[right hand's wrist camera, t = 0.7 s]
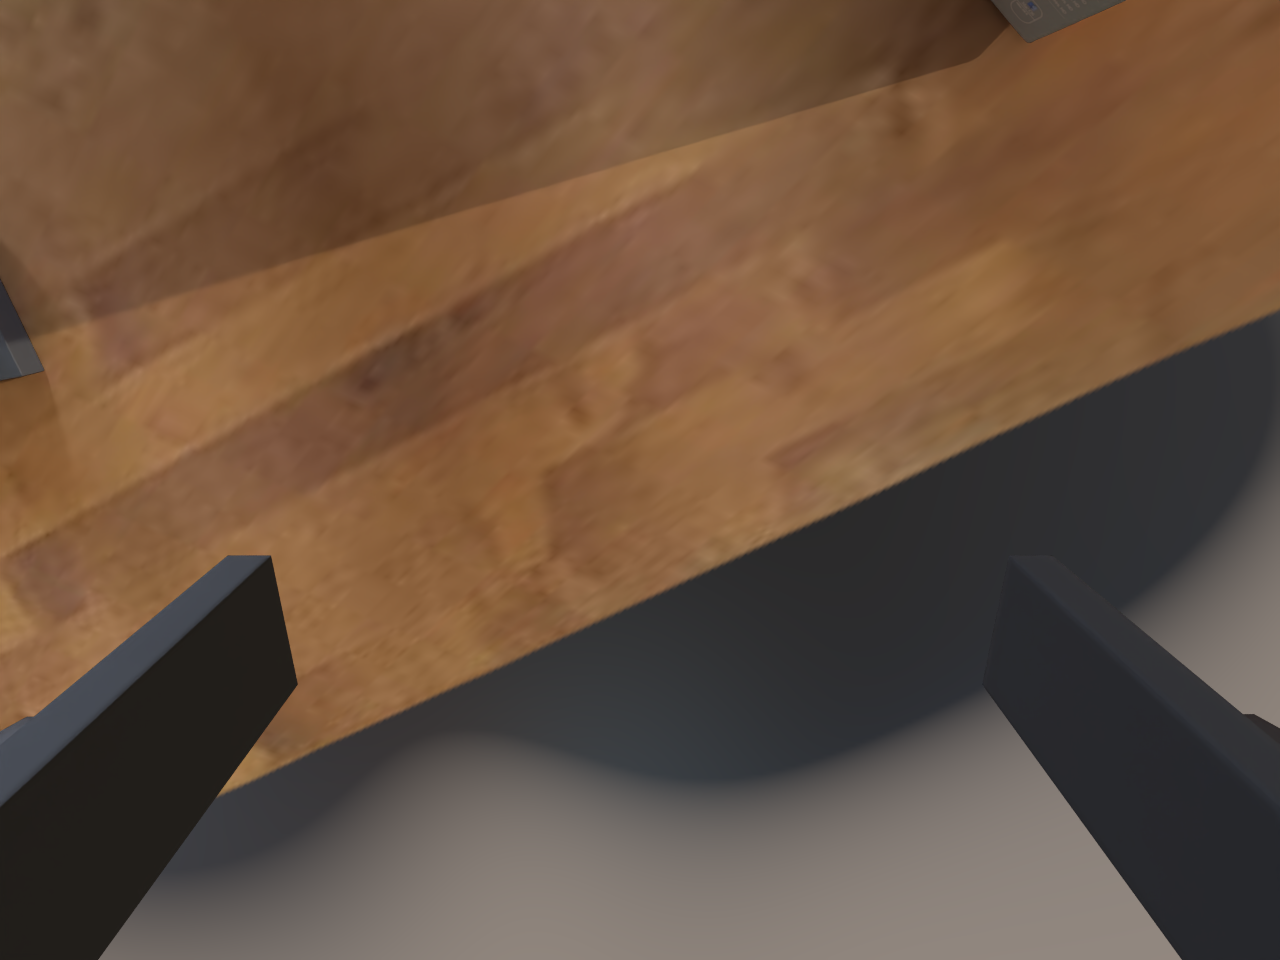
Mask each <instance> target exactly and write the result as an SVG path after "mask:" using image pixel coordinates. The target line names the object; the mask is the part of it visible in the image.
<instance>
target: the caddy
mask: <svg viewBox="0 0 1280 960" xmlns="http://www.w3.org/2000/svg"><path fill="white" fill-rule="evenodd" d="M41 371H44V368H43V366H42V364H41V362H40V360H39V358H38V356H37V354H36V352H35V350H34V348H33V346H32V343H31V341H30V339H29V337H28V335H27V333H26V331H25V329H24V327H23V325H22V323H21V321H20V319H19V317H18V315H17V312H16V310H15V308H14V306H13V304H12V302H11V300H10V298H9V296H8V294H7V292H6V290H5V288H4V286H3V284H2V281H1V279H0V381H1V380H6V379H12V378H17V377H22V376H26V375H30V374H34V373H38V372H41Z"/></svg>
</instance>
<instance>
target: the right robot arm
mask: <svg viewBox="0 0 1280 960" xmlns="http://www.w3.org/2000/svg"><path fill="white" fill-rule="evenodd" d="M297 685H298V683H297V679H296V674H295V669H294V664H293V659H292V655H291V650H290V645H289V640H288V635H287V630H286V626H285V621H284V616H283V611H282V606H281V602H280V597H279V592H278V587H277V582H276V578H275V573H274V568H273V563H272V558H271V556H227V557H225V558H224V559H223V560H222V561H221V562H219V563H218V564H217V565H216V566H215V567H213V568H212V569H211V570H210V571H209V572H207V573H206V574H205V575H204V576H203V577H201V578H200V579H199V580H198V581H197V582H195V583H194V584H193V585H192V586H191V587H189V588H188V589H187V590H186V591H185V592H183V593H182V594H181V595H180V596H179V597H177V598H176V599H175V600H174V601H173V602H171V603H170V604H169V605H168V606H167V607H165V608H164V609H163V610H162V611H161V612H159V613H158V614H157V615H156V616H155V617H153V618H152V619H151V620H150V621H149V622H147V623H146V624H145V625H144V626H143V627H141V628H140V629H139V630H138V631H137V632H135V633H134V634H133V635H132V636H131V637H129V638H128V639H127V640H126V641H125V642H123V643H122V644H121V645H120V646H119V647H117V648H116V649H115V650H114V651H112V652H111V653H110V654H109V655H108V656H106V657H105V658H104V659H103V660H102V661H100V662H99V663H98V664H97V665H96V666H94V667H93V668H92V669H91V670H90V671H88V672H87V673H86V674H85V675H84V676H82V677H81V678H80V679H79V680H78V681H76V682H75V683H74V684H73V685H72V686H70V687H69V688H68V689H67V690H66V691H64V692H63V693H62V694H61V695H60V696H58V697H57V698H56V699H55V700H54V701H52V702H51V703H50V704H49V705H48V706H46V707H45V708H44V709H43V710H42V711H40V712H39V713H38V714H37V715H36V716H34V717H26V718H24V719H22V720H20V721H18V722H16V723H15V724H13V725H11V726H9V727H7V728H6V729H4V730H2V731H0V960H98V959H99V958H100V956H101V955H102V954H103V952H104V951H105V949H106V948H107V947H108V945H109V944H110V943H111V941H112V940H113V938H114V937H115V936H116V934H117V933H118V932H119V930H120V929H121V927H122V926H123V925H124V923H125V922H126V920H127V919H128V918H129V916H130V915H131V914H132V912H133V911H134V909H135V908H136V907H137V905H138V904H139V903H140V901H141V900H142V898H143V897H144V896H145V894H146V893H147V892H148V890H149V889H150V887H151V886H152V885H153V883H154V882H155V880H156V879H157V878H158V876H159V875H160V874H161V872H162V871H163V869H164V868H165V867H166V865H167V864H168V863H169V861H170V860H171V858H172V857H173V856H174V854H175V853H176V852H177V850H178V849H179V847H180V846H181V845H182V843H183V842H184V840H185V839H186V838H187V836H188V835H189V834H190V832H191V831H192V830H193V828H194V827H195V825H196V824H197V823H198V821H199V820H200V818H201V817H202V816H203V814H204V813H205V812H206V810H207V809H208V807H209V806H210V805H211V803H212V802H213V801H214V799H215V798H216V796H217V795H218V794H219V792H220V791H221V790H222V788H223V787H224V785H225V784H226V783H227V781H228V780H229V779H230V777H231V776H232V774H233V773H234V772H235V770H236V769H237V767H238V766H239V765H240V763H241V762H242V761H243V759H244V758H245V756H246V755H247V754H248V752H249V751H250V750H251V748H252V747H253V745H254V744H255V743H256V741H257V740H258V739H259V737H260V736H261V734H262V733H263V732H264V730H265V729H266V728H267V726H268V725H269V723H270V722H271V721H272V719H273V718H274V716H275V715H276V714H277V712H278V711H279V710H280V708H281V707H282V705H283V704H284V703H285V701H286V700H287V699H288V697H289V696H290V694H291V693H292V692H293V690H294V689H295V688H296V686H297ZM982 685H983V686H984V688H985V689H986V690H987V692H988V693H989V694H990V696H991V697H992V699H993V700H994V701H995V703H996V704H997V705H998V707H999V708H1000V710H1001V711H1002V712H1003V714H1004V715H1005V716H1006V718H1007V719H1008V721H1009V722H1010V723H1011V725H1012V726H1013V728H1014V729H1015V730H1016V732H1017V733H1018V734H1019V736H1020V737H1021V739H1022V740H1023V741H1024V743H1025V744H1026V745H1027V747H1028V748H1029V750H1030V751H1031V752H1032V754H1033V755H1034V756H1035V758H1036V759H1037V761H1038V762H1039V763H1040V765H1041V766H1042V767H1043V769H1044V770H1045V772H1046V773H1047V774H1048V776H1049V777H1050V779H1051V780H1052V781H1053V783H1054V784H1055V785H1056V787H1057V788H1058V790H1059V791H1060V792H1061V794H1062V795H1063V796H1064V798H1065V799H1066V801H1067V802H1068V803H1069V805H1070V806H1071V807H1072V809H1073V810H1074V812H1075V813H1076V814H1077V816H1078V817H1079V818H1080V820H1081V821H1082V823H1083V824H1084V825H1085V827H1086V828H1087V829H1088V831H1089V832H1090V834H1091V835H1092V836H1093V838H1094V839H1095V841H1096V842H1097V843H1098V845H1099V846H1100V847H1101V849H1102V850H1103V852H1104V853H1105V854H1106V856H1107V857H1108V858H1109V860H1110V861H1111V863H1112V864H1113V865H1114V867H1115V868H1116V869H1117V871H1118V872H1119V874H1120V875H1121V876H1122V878H1123V879H1124V880H1125V882H1126V883H1127V885H1128V886H1129V887H1130V889H1131V890H1132V892H1133V893H1134V894H1135V896H1136V897H1137V898H1138V900H1139V901H1140V903H1141V904H1142V905H1143V907H1144V908H1145V909H1146V911H1147V912H1148V914H1149V915H1150V916H1151V918H1152V919H1153V920H1154V922H1155V923H1156V925H1157V926H1158V927H1159V929H1160V930H1161V931H1162V933H1163V934H1164V936H1165V937H1166V938H1167V940H1168V941H1169V943H1170V944H1171V945H1172V947H1173V948H1174V949H1175V951H1176V952H1177V954H1178V955H1179V956H1180V958H1181V959H1182V960H1280V728H1278V727H1276V726H1274V725H1273V724H1271V723H1269V722H1267V721H1265V720H1264V719H1262V718H1260V717H1258V716H1256V715H1254V714H1242V713H1241V712H1240V711H1238V710H1237V709H1236V708H1235V707H1234V706H1232V705H1231V704H1230V703H1229V702H1228V701H1226V700H1225V699H1224V698H1223V697H1222V696H1220V695H1219V694H1218V693H1217V692H1216V691H1214V690H1213V689H1212V688H1211V687H1210V686H1208V685H1207V684H1206V683H1205V682H1204V681H1202V680H1201V679H1200V678H1199V677H1198V676H1196V675H1195V674H1194V673H1193V672H1192V671H1190V670H1189V669H1188V668H1187V667H1185V666H1184V665H1183V664H1182V663H1181V662H1179V661H1178V660H1177V659H1176V658H1175V657H1173V656H1172V655H1171V654H1170V653H1169V652H1167V651H1166V650H1165V649H1164V648H1163V647H1161V646H1160V645H1159V644H1158V643H1157V642H1155V641H1154V640H1153V639H1152V638H1151V637H1149V636H1148V635H1147V634H1146V633H1145V632H1143V631H1142V630H1141V629H1140V628H1139V627H1137V626H1136V625H1135V624H1134V623H1133V622H1131V621H1130V620H1129V619H1128V618H1127V617H1125V616H1124V615H1123V614H1122V613H1121V612H1119V611H1118V610H1117V609H1116V608H1115V607H1113V606H1112V605H1111V604H1110V603H1109V602H1107V601H1106V600H1105V599H1104V598H1103V597H1101V596H1100V595H1099V594H1098V593H1097V592H1095V591H1094V590H1093V589H1092V588H1091V587H1089V586H1088V585H1087V584H1086V583H1085V582H1083V581H1082V580H1081V579H1080V578H1079V577H1077V576H1076V575H1075V574H1074V573H1072V572H1071V571H1070V570H1069V569H1068V568H1067V567H1065V566H1064V565H1063V564H1062V563H1061V562H1059V561H1058V560H1057V559H1056V558H1054V557H1053V556H1009V558H1008V563H1007V568H1006V573H1005V578H1004V582H1003V587H1002V592H1001V597H1000V602H999V606H998V611H997V616H996V621H995V626H994V631H993V635H992V640H991V645H990V650H989V655H988V659H987V664H986V669H985V674H984V679H983V683H982Z"/></svg>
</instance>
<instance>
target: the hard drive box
mask: <svg viewBox="0 0 1280 960" xmlns="http://www.w3.org/2000/svg"><path fill="white" fill-rule="evenodd" d="M991 1H992V2H993V3H994V4H995V6H996V7H997V8H998V9H999V11H1000V12H1001V13H1002V14H1003V15H1004V17H1005V18H1006V19H1007V20H1008V21H1009V23H1010V24H1011V25H1012V26H1013V27H1014V29H1015V30H1016V31H1017V32H1018V33H1019V34H1020V36H1021V37H1022V38H1023V39H1024V40H1025V41H1026V42H1028V43H1031V42H1033V41H1035V40H1037V39H1040V38H1042V37H1044V36H1047V35H1049V34H1051V33H1054V32H1056V31H1058V30H1061V29H1063V28H1065V27H1067V26H1069V25H1072V24H1074V23H1076V22H1079V21H1081V20H1083V19H1085V18H1087V17H1090V16H1092V15H1094V14H1097V13H1099V12H1101V11H1103V10H1106V9H1108V8H1110V7H1112V6H1114V5H1117V4H1119V3H1121V2H1123V1H1125V0H991Z"/></svg>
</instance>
